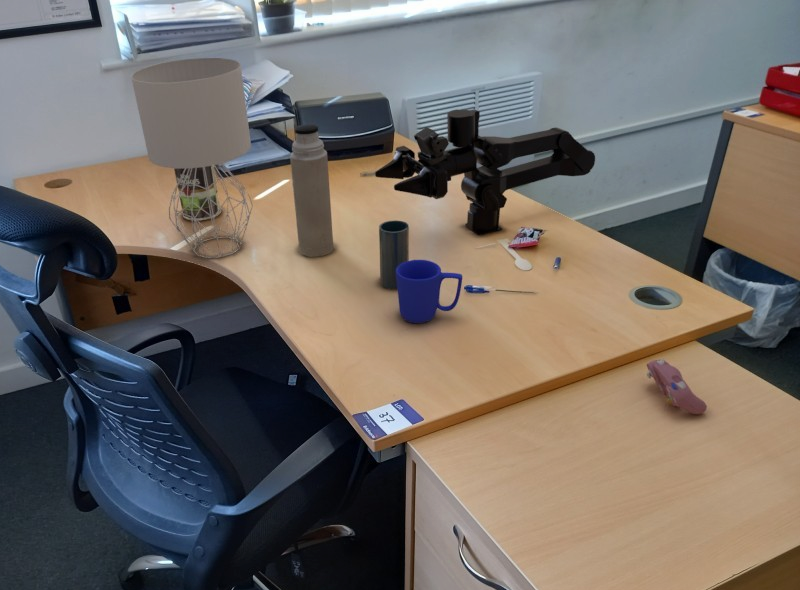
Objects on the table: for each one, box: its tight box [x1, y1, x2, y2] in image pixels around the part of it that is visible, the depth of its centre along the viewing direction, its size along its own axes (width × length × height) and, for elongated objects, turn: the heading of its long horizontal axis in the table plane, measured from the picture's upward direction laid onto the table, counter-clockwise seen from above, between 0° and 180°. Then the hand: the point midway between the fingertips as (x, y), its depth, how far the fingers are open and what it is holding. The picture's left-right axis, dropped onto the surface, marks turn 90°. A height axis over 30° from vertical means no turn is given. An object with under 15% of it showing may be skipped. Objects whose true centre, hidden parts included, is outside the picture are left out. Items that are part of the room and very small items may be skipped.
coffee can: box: [173, 165, 222, 222], centre depth 177 cm, size 10×10×14 cm
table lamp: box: [130, 57, 254, 259], centre depth 151 cm, size 22×22×40 cm
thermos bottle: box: [289, 123, 334, 258], centre depth 150 cm, size 8×8×28 cm
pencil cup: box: [378, 220, 410, 290], centre depth 139 cm, size 6×6×13 cm
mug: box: [396, 259, 463, 324], centre depth 127 cm, size 8×12×10 cm
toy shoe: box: [645, 358, 708, 415], centre depth 104 cm, size 10×5×7 cm, turn 5°
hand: (384, 180), depth 145 cm, fingers open, 9 cm apart
